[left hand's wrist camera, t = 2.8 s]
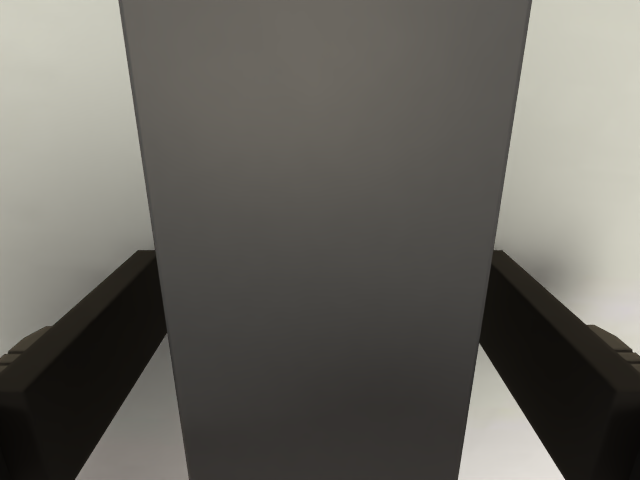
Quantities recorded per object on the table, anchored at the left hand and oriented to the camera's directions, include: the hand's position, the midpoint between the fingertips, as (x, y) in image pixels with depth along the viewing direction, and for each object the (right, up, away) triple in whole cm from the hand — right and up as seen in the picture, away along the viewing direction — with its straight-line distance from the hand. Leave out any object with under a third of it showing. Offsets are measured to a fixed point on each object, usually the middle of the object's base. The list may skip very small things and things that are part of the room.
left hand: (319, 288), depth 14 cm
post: (0, +21, -6) cm, 21 cm away
